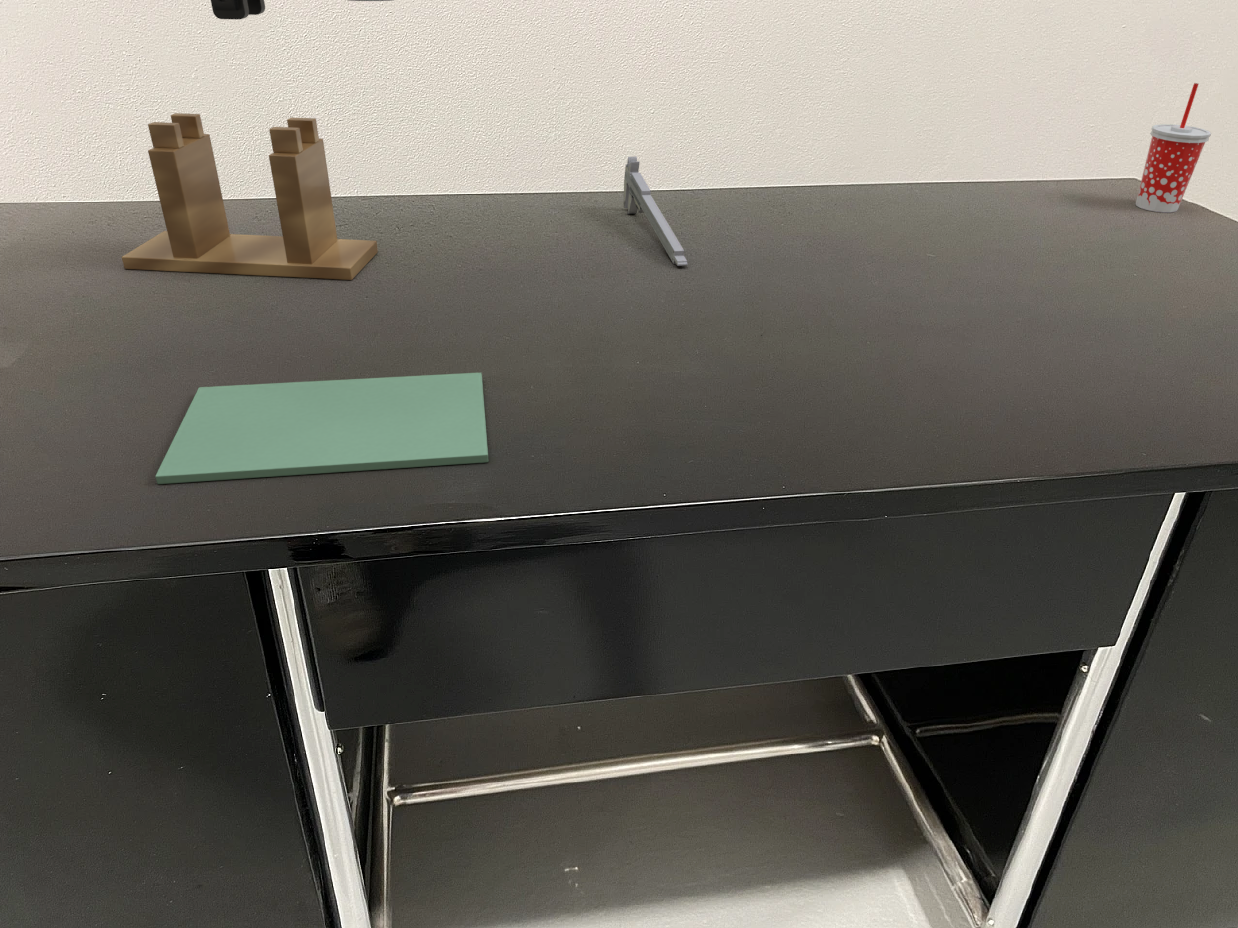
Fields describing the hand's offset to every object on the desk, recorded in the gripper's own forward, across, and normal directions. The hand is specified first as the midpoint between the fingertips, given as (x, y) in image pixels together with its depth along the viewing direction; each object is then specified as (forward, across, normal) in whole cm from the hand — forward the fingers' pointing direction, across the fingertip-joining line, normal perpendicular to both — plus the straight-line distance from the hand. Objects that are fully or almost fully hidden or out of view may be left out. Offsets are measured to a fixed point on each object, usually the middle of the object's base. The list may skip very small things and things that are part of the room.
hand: (240, 15), depth 64 cm
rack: (+23, -16, -10) cm, 30 cm away
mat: (+24, +15, +8) cm, 29 cm away
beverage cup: (+25, -48, +88) cm, 103 cm away
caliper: (+24, -28, +28) cm, 47 cm away
